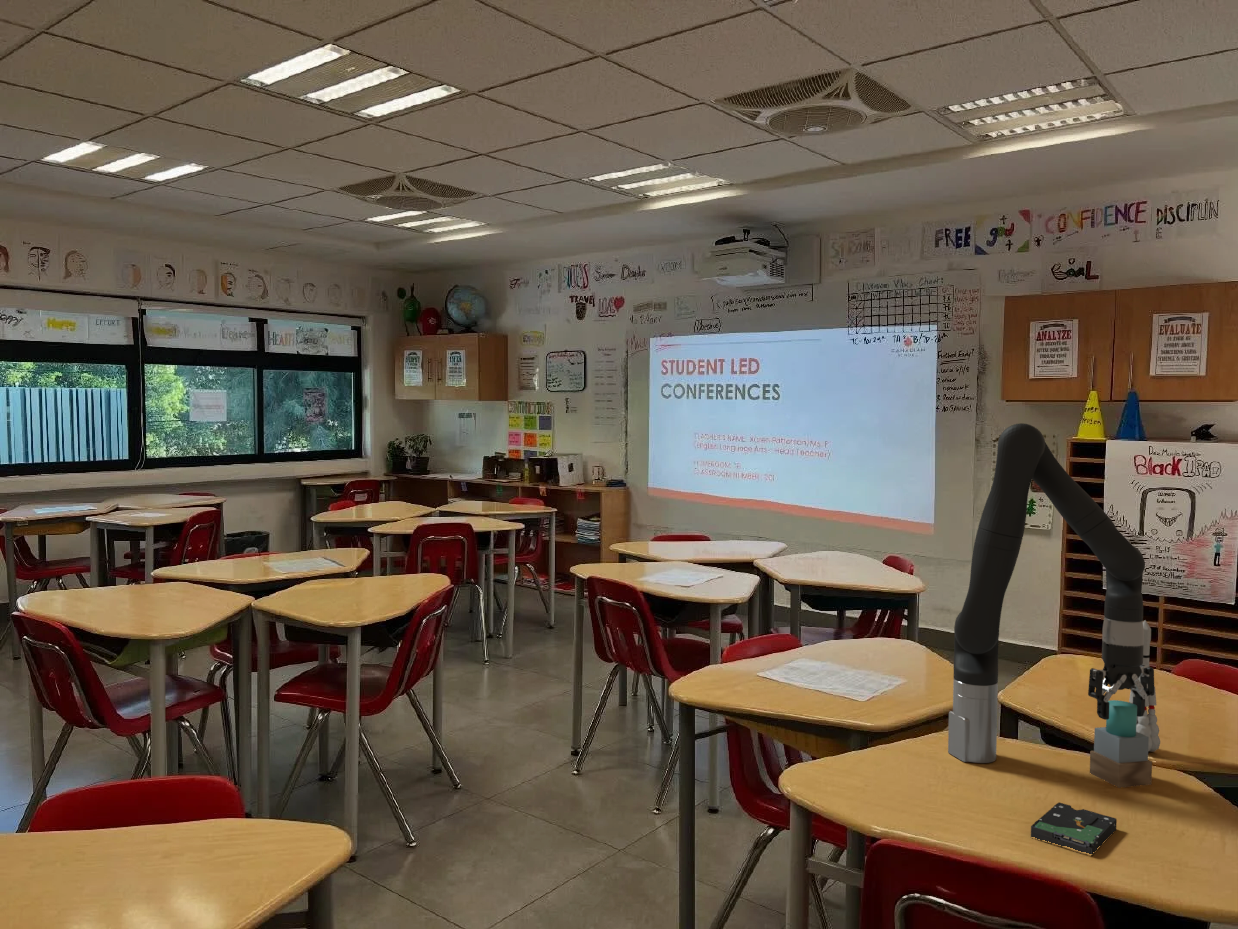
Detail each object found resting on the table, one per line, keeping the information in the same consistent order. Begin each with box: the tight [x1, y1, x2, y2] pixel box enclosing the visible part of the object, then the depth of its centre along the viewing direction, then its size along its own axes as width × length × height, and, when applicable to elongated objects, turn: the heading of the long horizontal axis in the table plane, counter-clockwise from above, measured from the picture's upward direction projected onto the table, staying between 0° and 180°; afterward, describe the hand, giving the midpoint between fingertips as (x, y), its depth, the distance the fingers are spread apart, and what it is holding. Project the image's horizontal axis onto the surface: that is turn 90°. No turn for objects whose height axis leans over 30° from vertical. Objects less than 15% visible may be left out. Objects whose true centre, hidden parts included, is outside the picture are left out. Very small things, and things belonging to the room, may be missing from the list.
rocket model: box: [1128, 619, 1161, 753], centre depth 203 cm, size 7×7×30 cm
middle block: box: [1093, 726, 1149, 763], centre depth 187 cm, size 7×7×5 cm
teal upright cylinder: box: [1105, 699, 1137, 737], centre depth 186 cm, size 6×6×6 cm
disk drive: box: [1030, 802, 1118, 855], centre depth 161 cm, size 10×3×15 cm
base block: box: [1089, 750, 1153, 789], centre depth 187 cm, size 8×8×5 cm
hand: (1120, 717), depth 186 cm, fingers open, 8 cm apart
